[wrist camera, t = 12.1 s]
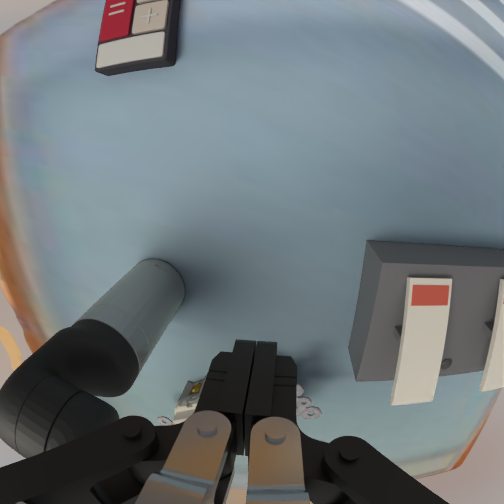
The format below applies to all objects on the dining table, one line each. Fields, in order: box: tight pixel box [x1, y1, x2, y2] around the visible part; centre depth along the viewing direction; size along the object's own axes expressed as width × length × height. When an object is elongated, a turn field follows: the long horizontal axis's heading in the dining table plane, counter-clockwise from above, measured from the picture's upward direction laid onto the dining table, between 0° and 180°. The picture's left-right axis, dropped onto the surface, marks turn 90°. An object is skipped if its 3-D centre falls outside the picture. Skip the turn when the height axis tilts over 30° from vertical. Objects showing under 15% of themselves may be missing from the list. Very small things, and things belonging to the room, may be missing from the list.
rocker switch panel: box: [349, 241, 504, 382], centre depth 37 cm, size 28×18×10 cm, turn 90°
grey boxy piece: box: [157, 376, 322, 426], centre depth 48 cm, size 12×28×10 cm, turn 122°
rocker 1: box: [390, 277, 452, 405], centre depth 32 cm, size 6×16×1 cm, turn 0°
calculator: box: [95, 0, 180, 76], centre depth 32 cm, size 11×4×15 cm
